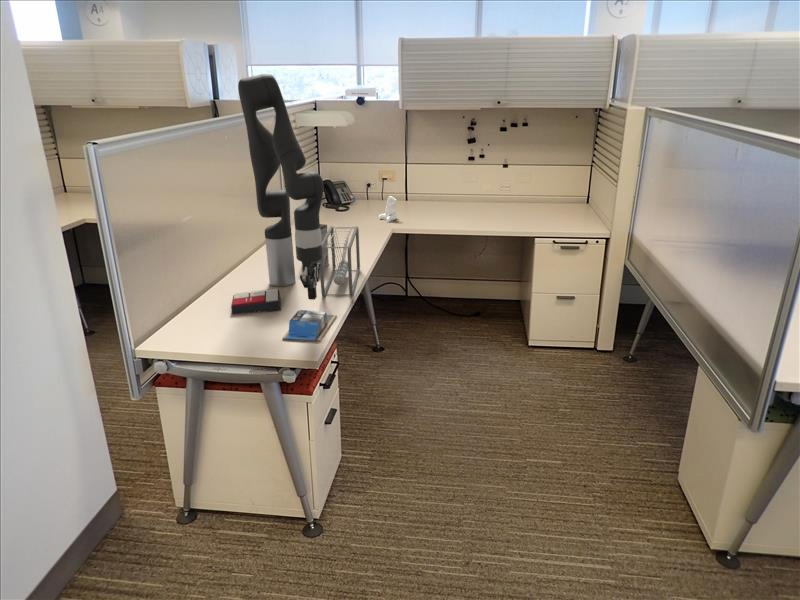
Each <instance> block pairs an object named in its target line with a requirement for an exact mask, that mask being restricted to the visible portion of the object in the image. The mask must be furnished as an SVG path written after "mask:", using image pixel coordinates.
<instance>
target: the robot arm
mask: <svg viewBox="0 0 800 600" xmlns="http://www.w3.org/2000/svg"><path fill="white" fill-rule="evenodd" d="M237 88H238V89H237V90H238V97H239V100H240V104H241V109H242V114H243V117H244V118H243V119H244V121H245V126H246V134H247V138H248V139H247V140H248V147H249V149H248V150H249V154H250V155H249V156H250V160H251V161H250V162H251V166H252V171H253V175H254V184H255V185H254V186H255V194H256V206H257V211H258V213H259V215H260V217H261V218H265V219H268V218H271V219H272V218H281V219H280V220H279V221H278V222H276V223H274V224H272V225H270V226H267V227H266V228H265V229H264V238H265V239H264V240H265V250H266V259H267V269H268V270H267V271H268V280H269V285H270V286H274V287H286V286H287V287H288V286H291V285H294V284H295V283H296V270H295V258H294V247H293V233H292V225H291V223H292V222H291V201H290V200H294V201H300V200H305V202H304V203H303V204H302V205H301V206H298V207H297V208H295V209H294V212H293V217H294V218H293V221H294V245H295V255H296V259H297V261H299V262H301V264H302V263H303V266H302V265H301V272H302V274H301V275H300V276H299V280H300V281H301V284H302V286H303V288H304V289H307V297H308V300H310V301H312V300H313V301H314V300H316V299H317V285H318V283H319V280H320V266H321V264H320V263H317V262H318V260H320V259H322V257H323V255H322V239H321V231H320V224H321V223H320V222H321V221H320V211H321V206H322V201H323V196H324V189H325V185H324V181H323V178H322V176H321V175H320V174H319V173H318V172H316V171H309V172H302V173H298V171H300V170H301V169H303V168H304V167H305V165H306V162H307V160H306V156H305V154H304V151H303V150H302V148H301V146H300V143H299V142H298V139H297V136H296V134H295V132H294V129H293V125H292V122H291V120H290V116H289V114H288V109H287V107H286V103H285V100H284V98H283V95H282V90H281V89H280V86H279V83H278V81H277V79H276V78H275V76H274V75H272V74H271V73H269V72H268V73H261V74H256V75H252V76H248V77H243V78H241V79H240V80H239V81H238V85H237ZM271 108H273V109H274V113H275V123H274V127H273V133H272V132H271V131H269V129H267V128H266V127H265V126H264V124H263V123H262V122H261V121H260V120H259V119H258V117H257V112H258V111H263V110H266V109H271ZM280 166H281V171H282V175H283V181H284V189H275V190H273V189H270V190H267V189H268V186H269V184H270V182H271V180H272V179H273V177H274V176H275V174H277V172H278V170H279V169H280Z"/></svg>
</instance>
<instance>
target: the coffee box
mask: <svg viewBox="0 0 800 600" xmlns="http://www.w3.org/2000/svg"><path fill="white" fill-rule="evenodd" d="M320 231H321V239H322V241H323V239H324V237H325V236H326V234H327V232H328V224H322V223H320ZM328 239H329V238H328ZM328 239H327V241H326V243H325V245H324V247H327V245H328V243H329V241H328ZM322 255H323V268H325V267H326V266H328V265H329V264H330V260H329V248H323V250H322ZM317 263H319V260H318V262H317ZM302 266H303V263H302V262H301V267H302Z"/></svg>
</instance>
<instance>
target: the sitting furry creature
mask: <svg viewBox="0 0 800 600" xmlns="http://www.w3.org/2000/svg"><path fill="white" fill-rule="evenodd" d="M396 202H397V199H396V198H395V197H393V196H391V195H388V198H387V199H386V207H385V208H384V209H385V213H381V214H379V215H378V219H379V220H384V221H386V222H387V223H390V222H393V221H394V220H396V219H397V217H398V215H399V214H398V212H397V211H396V207H395V206H394V205H395V203H396Z"/></svg>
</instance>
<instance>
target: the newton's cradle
mask: <svg viewBox="0 0 800 600" xmlns="http://www.w3.org/2000/svg"><path fill="white" fill-rule="evenodd" d="M337 229H349V231H346V230H345V231H339V230H337ZM352 229H353V231H352ZM337 232H338V233H339V232H344V233H345V232H346V233H347V232H348V233H347V236H346V237H345V238H346V239H345V240H344V241H345V242H341V243H339V239H338V238H339V237H338V234H337ZM351 232H352V235H351ZM359 232H360V231H359V226H358V225H356V226H352V227H350V226H348V227H347V226H344V227H343V226H342V227H341V226H339V227H337V226H336V227H335V226H334V227H333V225H330V226H329V227H328V229H327V234H326V236H325V237H324V239H323V241H322V250H323V248H328V249H330V250H331V260H332V261H331V262H332V263H331V264H332V265H331V266H332V268H331V272H330V273H329V274H330V275H329V277H328V279H327V282H326V285H325V279H324V278H325V274H324V267H323V257H322V259H320V260H319V263H320V264H321V266H320V273H319V279H320V288H321V289H320V292H321V296H322V297H324V298H325V297H326V296H349V297H354V294H355V290H356V286H357V282H358V278H359V274H360V270H361V259H360V258H361V255H360V235H359V234H360V233H359ZM335 235H336V236H335ZM350 235H351V238H350V241H349V237H350ZM329 236H330V239H329ZM327 239H329V241H328V245H327V247H324V245H325V243H326V241H327ZM348 241H349V243H348ZM354 242H355V248H356V249H355V251H356V269H352V268H353V267H352V247H353V245H354ZM341 244H343V246H340V245H341ZM329 245H330V246H329ZM336 245H338V246H336ZM337 249H339V250H337ZM341 249H342V251H341ZM338 253H340V254H338ZM338 255H339V256H338ZM346 255H347V260H346ZM336 256H337V257H336ZM339 257H341V258H339ZM353 272H355V276H354V279H353V274H352V273H353ZM347 274H348V293H344V294H343V293H342V294H341V293H340V294H338V293H337V294H336V293H335V294H333V293H330V294H329V293H328V290H329V288H330V285H331V282H332V280H333V283H335V285H337V286H341V285H343V284H344V283H345V279H346V278H347V277H346V276H347ZM327 293H328V294H327Z"/></svg>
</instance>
